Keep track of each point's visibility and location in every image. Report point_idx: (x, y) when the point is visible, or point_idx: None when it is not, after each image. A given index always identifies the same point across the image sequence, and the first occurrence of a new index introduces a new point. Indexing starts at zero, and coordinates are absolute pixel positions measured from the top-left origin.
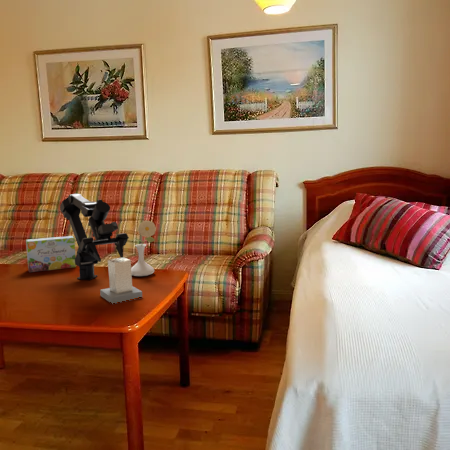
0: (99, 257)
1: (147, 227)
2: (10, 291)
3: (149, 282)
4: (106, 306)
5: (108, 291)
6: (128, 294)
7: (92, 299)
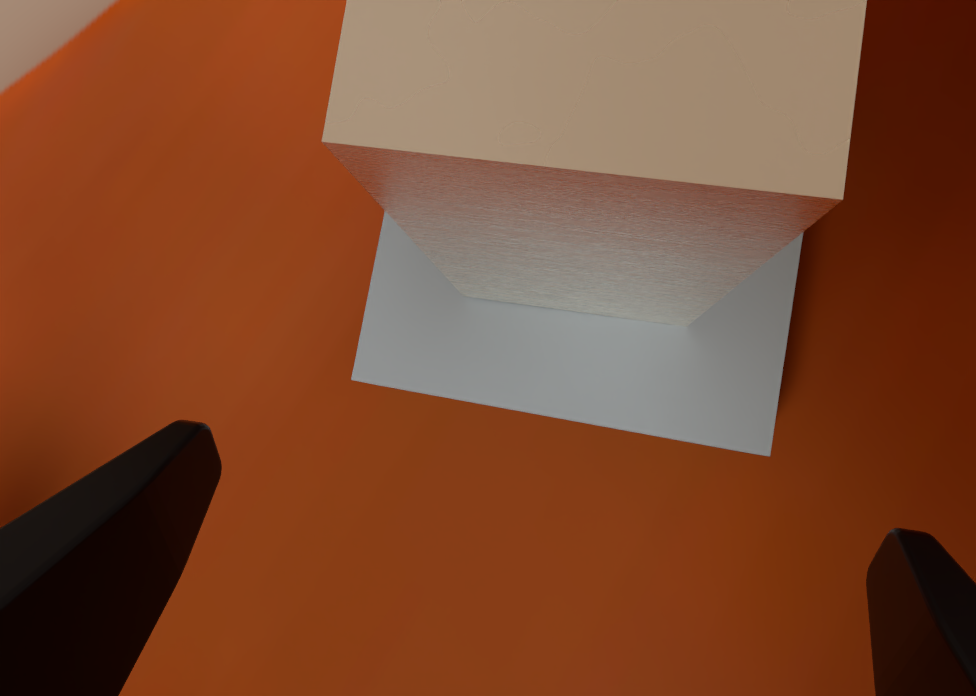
0: (964, 605)
1: None
2: None
3: (39, 463)
4: (898, 53)
5: (726, 299)
6: None
7: (897, 399)
